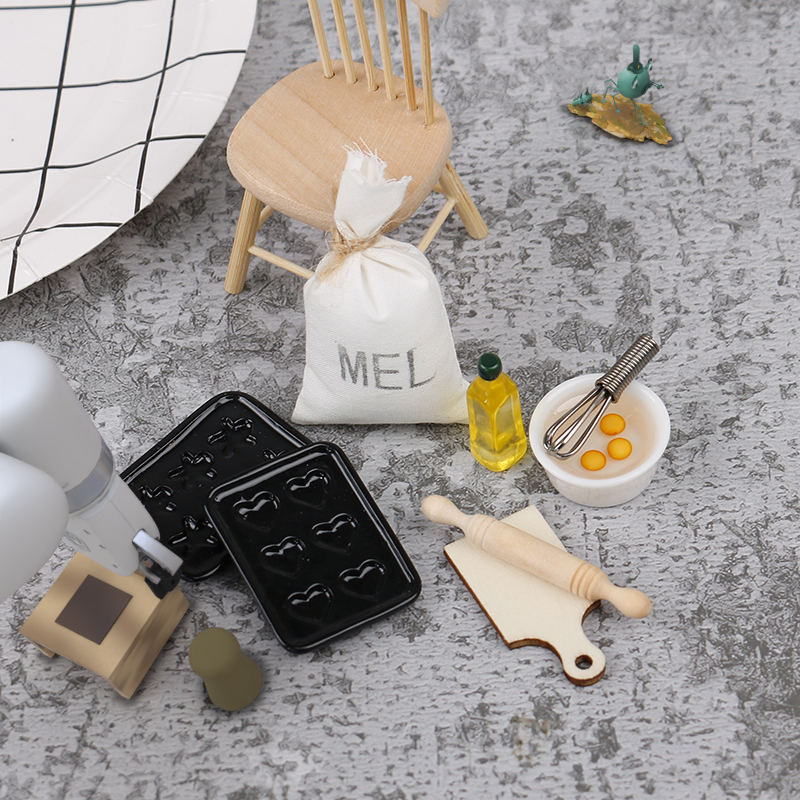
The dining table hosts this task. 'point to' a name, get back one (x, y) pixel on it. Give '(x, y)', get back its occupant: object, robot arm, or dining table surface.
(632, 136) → the teal creature figurine
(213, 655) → the cork
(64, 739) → the dining table surface
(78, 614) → the wooden square frame
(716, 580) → the dining table surface
